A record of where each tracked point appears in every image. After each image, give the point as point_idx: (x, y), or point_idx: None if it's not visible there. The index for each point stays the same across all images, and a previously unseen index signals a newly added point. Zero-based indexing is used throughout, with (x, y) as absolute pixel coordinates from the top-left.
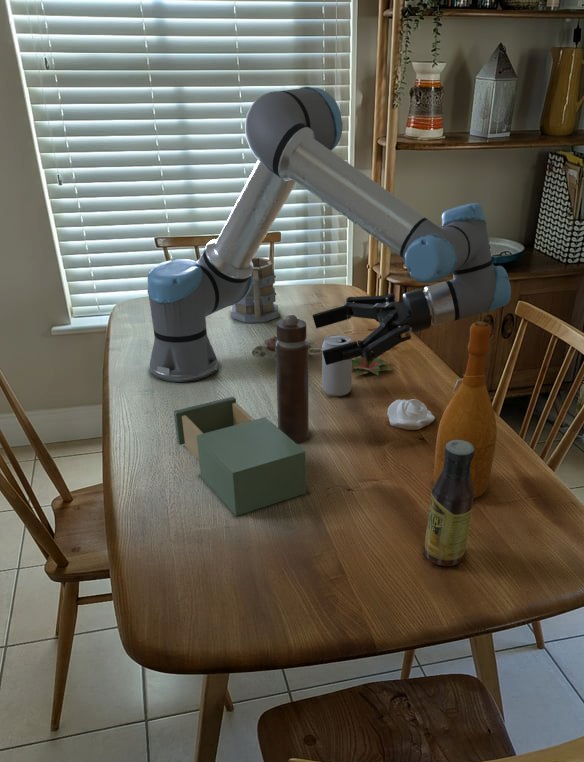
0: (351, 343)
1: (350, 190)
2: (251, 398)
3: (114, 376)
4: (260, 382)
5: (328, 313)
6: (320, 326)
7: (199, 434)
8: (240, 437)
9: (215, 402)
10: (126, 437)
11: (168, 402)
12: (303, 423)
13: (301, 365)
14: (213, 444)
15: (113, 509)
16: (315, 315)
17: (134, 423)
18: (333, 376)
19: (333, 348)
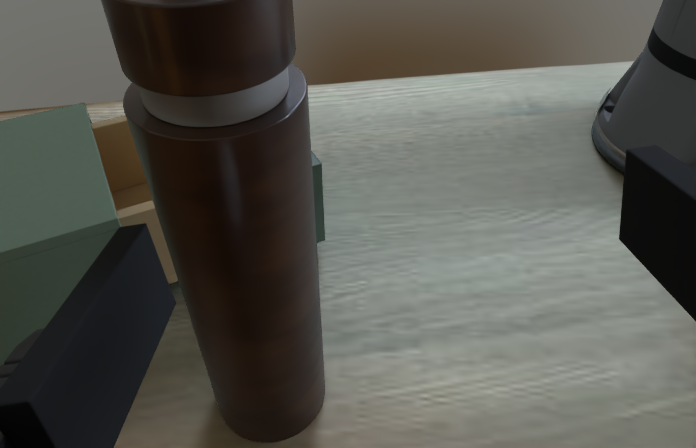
0: (38, 364)
1: None
2: (539, 282)
3: (590, 66)
4: (671, 305)
5: (694, 212)
6: (634, 250)
7: (117, 117)
8: (17, 168)
9: None
10: (320, 98)
11: (481, 136)
12: (213, 384)
13: (151, 193)
14: (14, 126)
15: (67, 105)
16: (642, 155)
17: (378, 102)
18: None
19: (108, 266)
